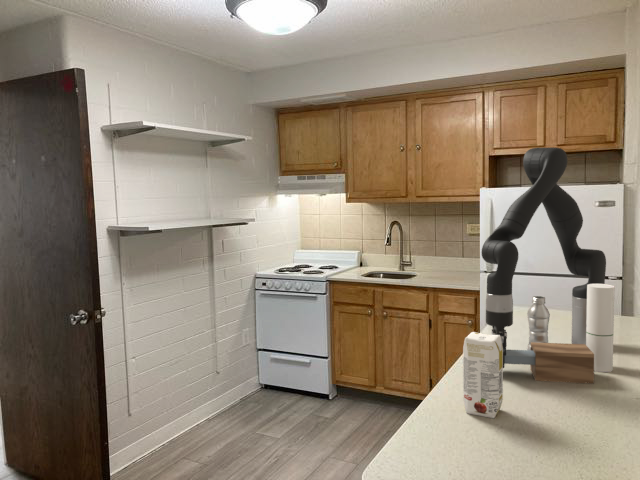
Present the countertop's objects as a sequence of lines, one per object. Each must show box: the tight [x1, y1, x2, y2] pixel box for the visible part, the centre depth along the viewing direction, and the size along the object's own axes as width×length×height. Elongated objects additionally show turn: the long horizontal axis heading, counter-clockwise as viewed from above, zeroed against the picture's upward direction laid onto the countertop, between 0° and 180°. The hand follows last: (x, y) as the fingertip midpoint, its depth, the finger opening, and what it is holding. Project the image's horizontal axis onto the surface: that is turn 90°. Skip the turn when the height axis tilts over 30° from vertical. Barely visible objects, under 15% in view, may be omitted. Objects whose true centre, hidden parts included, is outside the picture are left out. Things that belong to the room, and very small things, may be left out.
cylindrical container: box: [586, 283, 615, 373], centre depth 154 cm, size 7×7×25 cm
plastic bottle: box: [526, 295, 551, 350], centre depth 164 cm, size 6×7×20 cm
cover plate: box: [504, 349, 535, 366], centre depth 151 cm, size 6×20×2 cm, turn 77°
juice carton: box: [462, 331, 504, 419], centre depth 127 cm, size 8×9×19 cm
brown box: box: [529, 342, 595, 385], centre depth 149 cm, size 9×15×8 cm, turn 77°
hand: (499, 364), depth 153 cm, fingers closed on cover plate, 6 cm apart
